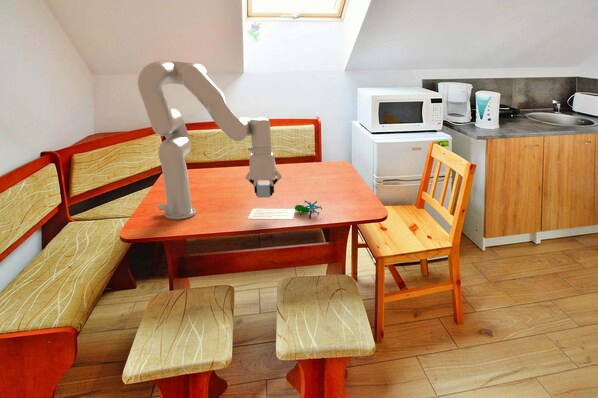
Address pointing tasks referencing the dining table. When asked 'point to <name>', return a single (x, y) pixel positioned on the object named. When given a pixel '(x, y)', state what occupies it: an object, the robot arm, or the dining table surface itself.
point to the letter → (272, 214)
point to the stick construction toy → (307, 208)
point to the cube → (263, 189)
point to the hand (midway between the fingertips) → (264, 194)
